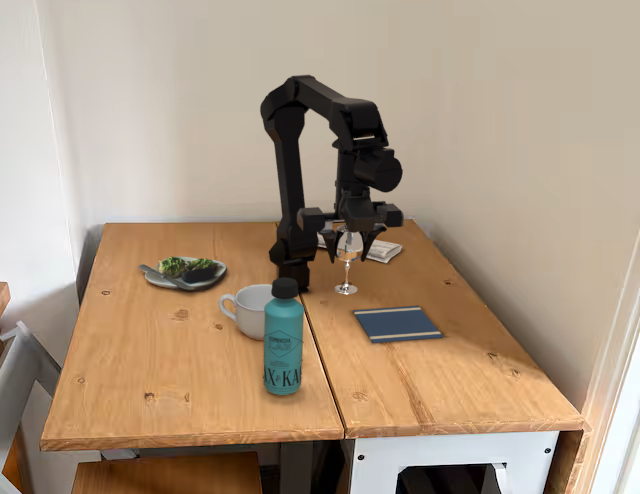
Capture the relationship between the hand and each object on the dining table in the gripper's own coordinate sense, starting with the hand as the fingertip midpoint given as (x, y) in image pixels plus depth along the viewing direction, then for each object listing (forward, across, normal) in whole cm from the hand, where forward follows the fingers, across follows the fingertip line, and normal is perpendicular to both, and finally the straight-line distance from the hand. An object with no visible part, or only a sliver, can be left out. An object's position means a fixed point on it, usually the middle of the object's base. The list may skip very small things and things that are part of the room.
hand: (347, 262), depth 134 cm
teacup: (+13, -18, 0) cm, 22 cm away
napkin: (+13, +10, -2) cm, 17 cm away
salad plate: (+13, -28, +29) cm, 42 cm away
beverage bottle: (+13, -17, -24) cm, 32 cm away
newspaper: (+13, +14, +41) cm, 45 cm away
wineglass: (+6, 0, 0) cm, 6 cm away
